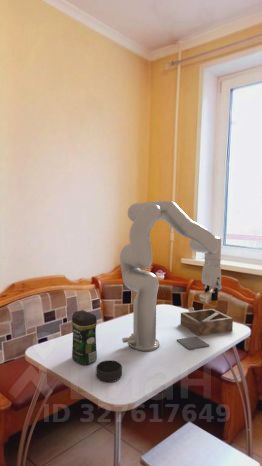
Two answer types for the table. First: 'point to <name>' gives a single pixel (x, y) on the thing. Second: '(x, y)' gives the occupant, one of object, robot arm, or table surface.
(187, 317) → the block
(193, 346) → the rubber mat
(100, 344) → the table surface
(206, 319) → the lever
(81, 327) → the coffee jar
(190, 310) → the pacifier
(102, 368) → the black round bowl
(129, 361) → the table surface
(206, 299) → the tan rectangular block
